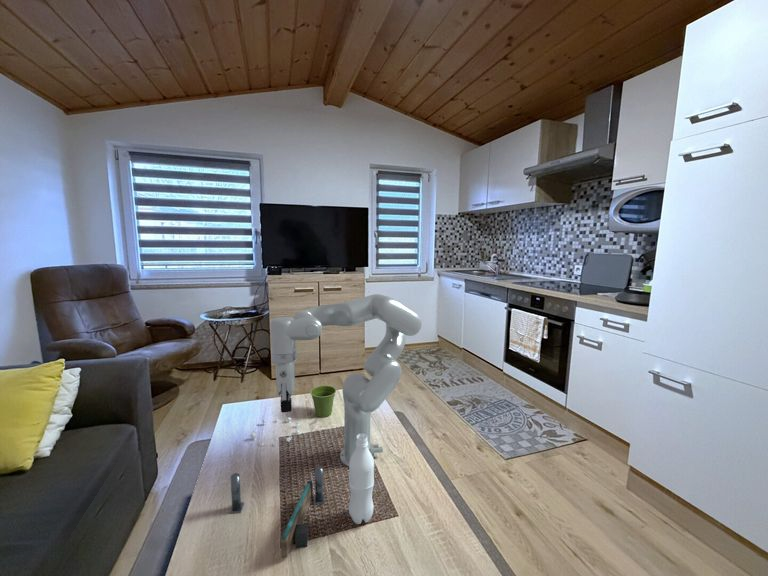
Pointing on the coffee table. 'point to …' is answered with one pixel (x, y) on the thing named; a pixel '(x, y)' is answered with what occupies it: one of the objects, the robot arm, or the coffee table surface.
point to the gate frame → (301, 529)
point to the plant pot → (323, 400)
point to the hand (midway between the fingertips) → (286, 410)
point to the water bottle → (361, 481)
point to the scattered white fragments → (275, 438)
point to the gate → (296, 519)
